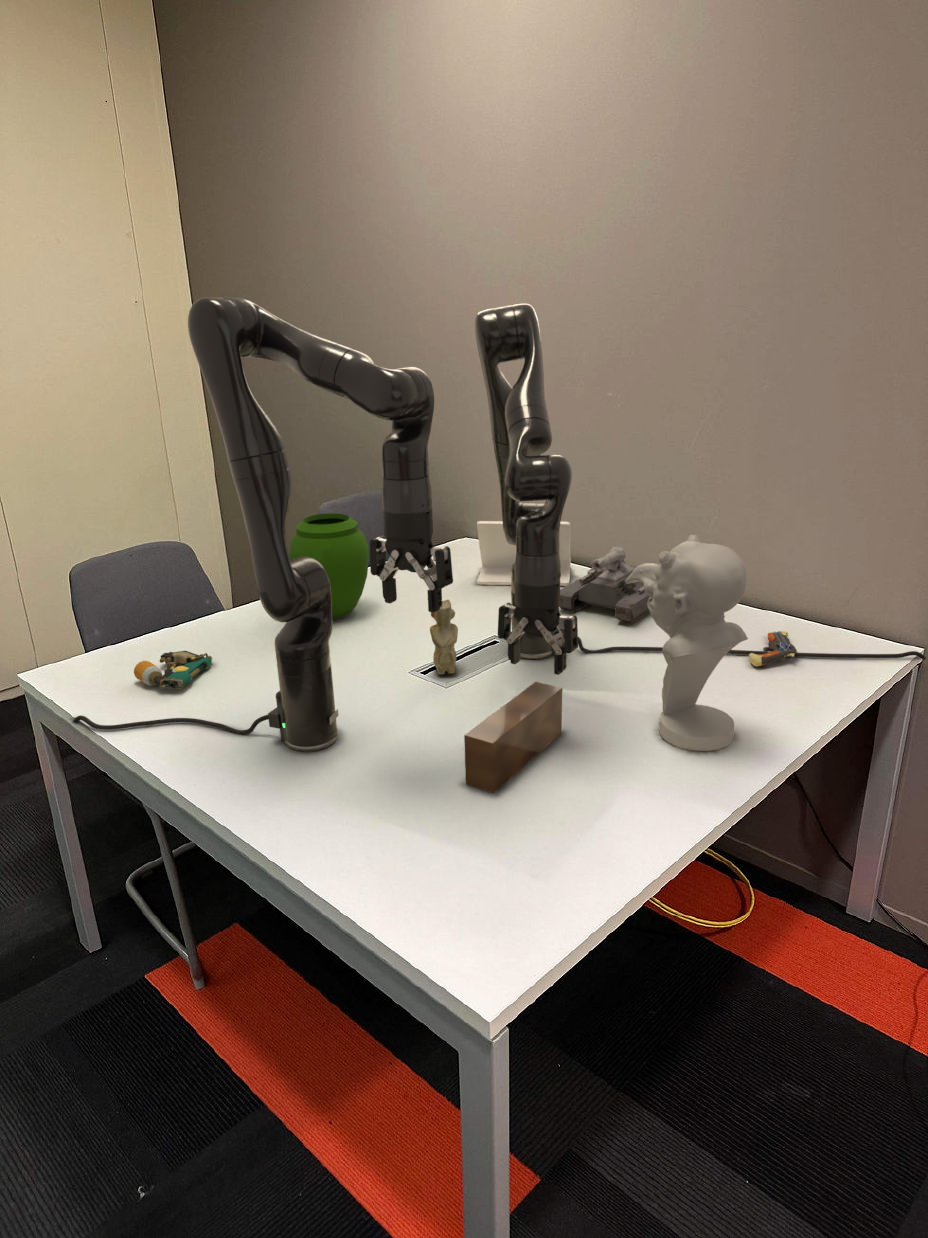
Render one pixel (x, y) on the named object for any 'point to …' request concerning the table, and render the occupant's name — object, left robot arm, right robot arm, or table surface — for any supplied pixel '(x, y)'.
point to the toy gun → (774, 649)
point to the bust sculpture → (694, 634)
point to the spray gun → (172, 669)
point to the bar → (512, 736)
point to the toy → (608, 588)
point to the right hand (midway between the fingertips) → (536, 667)
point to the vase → (335, 556)
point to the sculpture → (444, 638)
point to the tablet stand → (512, 554)
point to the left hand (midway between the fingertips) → (412, 606)
